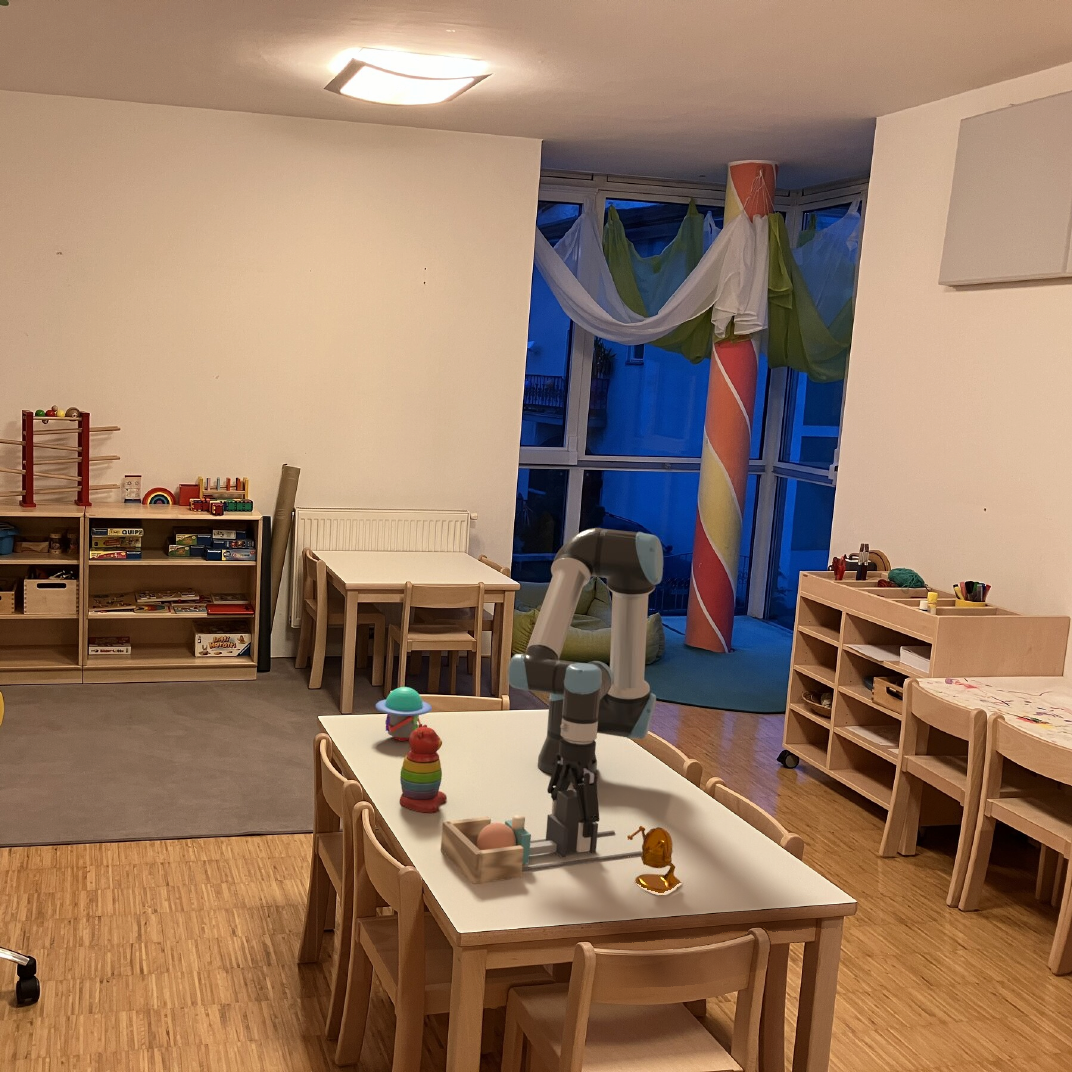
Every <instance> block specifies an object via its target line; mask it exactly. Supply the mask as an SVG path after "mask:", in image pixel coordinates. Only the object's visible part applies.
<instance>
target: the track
mask: <svg viewBox="0 0 1072 1072" xmlns="http://www.w3.org/2000/svg"><path fill="white" fill-rule="evenodd" d="M609 835H616V831H614V830H605V831H600V832H599V831H598V833H597V837H601V836H609ZM543 841H546V838H544V839H543V838H542V839H537V840H534V839H533V840H531V841H530V843H535V842H543ZM641 854H642V850H639V851H632V852H625V853H619V854H611V855H602V856H595V857H588V858H582V859H581V858H580V859H574V860H567V861H566V860H565V861H560V862H552V863H544V864H538V865H530V866H524V867H523V866H522V873H523V872H529V871H536V870H537V871H538V870H543V869H544V870H545V869H550V868H551V869H552V868H558V867H565V866H573V865H581V864H586V863H587V864H588V863H594V862H601V861H609V860H615V859H624V858H630V856H631V857H637V855H638V856H641ZM628 856H629V857H628Z"/></svg>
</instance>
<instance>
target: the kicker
mask: <svg viewBox="0 0 1072 1072" xmlns="http://www.w3.org/2000/svg"><path fill="white" fill-rule="evenodd" d="M579 820H581V814H580V809H579V804H578V799H577V794H576V790H574V789H568V790H564V791H557V801H556V814H555V816H554V815H552V813H551V814H547V820H546V822H547V823H546V832H545V839H546V841H543V842H535V843H530V841H532V839H531V838H532V833H530V832H529V831H527V830H526V829H525V824H526V823H525V822H526V817H525V816H524V815H521V814H514V815H512V817H511V819H510V820H505V821H504V824H505V825H507V826H508V827H510V828H511V829H512V831H513V832H514V834H515V836H516V846H519V845H521V846H522V847H523V848H524V851H523V864H522V865H524V864H529V863H530V862H529V861H530V856H535V855H541V854H542V855H543V854H550V853H556V854H557V855H558V856H559V857H560V858H562V859H563V858H567V855H568V854H575V853H578V852H577V851H576V850H577V838H578V827H579ZM598 832H599V823H598V822H593V823H592V832H591V841H590V851H588V852H589V853H590V854H592V855H594V854H596V853H597V845H598V844H597V843H598V836H597V833H598Z"/></svg>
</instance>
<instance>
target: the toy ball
mask: <svg viewBox="0 0 1072 1072" xmlns="http://www.w3.org/2000/svg"><path fill="white" fill-rule="evenodd" d="M511 846H516V836H515V834H514V832H513V831H512V829H511V828H510V827H508V826H507V825H505V823H502V822H492V823H491V824H489V825H487V826H485V827H484V828H483V829H482V830H481V832H480V834H479V836H478V839H477V847H478V849H479V850H488V849H496V848H503V847H511Z"/></svg>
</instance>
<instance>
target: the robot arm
mask: <svg viewBox="0 0 1072 1072" xmlns="http://www.w3.org/2000/svg"><path fill="white" fill-rule="evenodd" d="M663 553H664V552H663V547H662V543H661V540H660V539H659V537H658V536H657V535H654V534H650V533H644V532H642V531H638V532H637V531H636V532H635V531H626V530H616V529H609V528H608V529H607V528H601V527H595V528H593V527H592V528H588V529H585V530H583V531H581V532H579V533H577V534H575V535H573V536H572V537H571V538H570V539H569V540H567V541H566V542H565V543H564V544H563V545H562V546H561V548H560V549H559V550H558V552H557V553H556V555H555V557H554V558H553V562H552V565H551V567H550V571H551V576H552V577H551V580H550V583H549V585H548V588H547V591H546V594H545V597H544V599H543V602H542V605H541V608H540V610H539V613H538V616H537V619H536V621H535V624H534V628H533V630H532V634H531V636H530V638H529V642H528V644H527V647H526V649H525V653H521V654H520V653H519V654H518V653H515V654H514V655H513V656H512V657H511V658H510V661H509V663H508V664H509V665H508V672H507V679H508V684H509V685H510V687H512V688H514V689H517V690H518V689H519V690H521V691H522V690H523V691H526V692H536V693H543V694H549V697H548V701H549V703H548V715H547V717H548V718H547V731H546V737H545V739H544V742H543V744H542V746H541V749H540V752H539V754H538V757H537V767H538V768H539V769H540V771H543V772H544V773H547V774H550V778H549V783H548V786H547V788H546V789H547V791H546V792H547V793H548V794H550V797H551V800H552V804H551V814H552V815H554V816H555V814H556V801H557V791H564V790H569V788H570V786H571V784H572V788H573V789H572V790H576V794H577V799H578V804H579V809H580V814H581V820H579V827H578V838H577V850H576V851H577V852H576V853H583V852H589V851H590V841H591V832H592V823H593V822H596V823H598V822H600V809H599V797H598V796H599V795H598V788H597V787H598V785H597V782H598V773H597V768H598V760H597V756H596V755H597V754H596V747H597V745H596V744H597V742H596V739H598V734H601V735H602V734H603V735H608V736H616V737H620V738H621V737H622V738H626V739H637V740H643V739H644V738H645V737H646V736H647V735H648V732H649V731H650V727H651V723H652V720H653V716H654V711H655V706H656V703H657V695H656V694H654V693H652V692H651V691H650V690H651V687H650V684H649V683H648V681H647V680H645V667H646V649H647V648H646V646H647V643H646V642H647V629H648V627H647V626H648V625H647V624H648V609H649V606H648V605H649V595H650V594H651V593H652V592H654V591H655V589H656V585H658V584H660V583H661V582H662V579H663V572H664V569H663V568H664V554H663ZM592 577H598V578H603V579H604V578H605V579H606V587H607V589H608V590H609V591H610V592H611V593H612V598H611V599H612V601H611V602H612V605H611V606H612V607H611V632H610V656H609V657H610V658H609V659H610V661H609V666H608V665H607V664H606V663H605V662H602V661H599V660H593V661H588V662H587V663H586V662H578V661H577V662H576V661H569V660H563V659H562V660H561V659H560V657H561V654H562V651H563V649H564V645H565V642H566V639H567V636H568V634H569V630H570V627H571V624H572V620H573V618H574V614H575V612H576V608H577V605H578V603H579V600H580V598H581V597H580V596H581V594H582V590H583V588H584V586H586V585H587V584H588V583H589V582H590V580H591V578H592ZM650 692H651V693H650Z"/></svg>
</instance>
